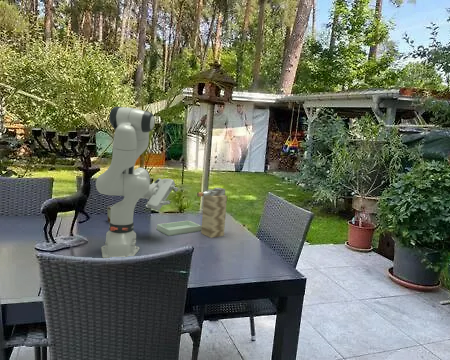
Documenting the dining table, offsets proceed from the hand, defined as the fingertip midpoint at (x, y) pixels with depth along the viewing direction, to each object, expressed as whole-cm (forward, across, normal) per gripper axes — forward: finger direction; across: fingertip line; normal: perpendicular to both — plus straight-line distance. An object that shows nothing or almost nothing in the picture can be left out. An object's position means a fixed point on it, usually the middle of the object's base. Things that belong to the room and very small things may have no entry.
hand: (173, 195), depth 202 cm
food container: (-50, -11, +24) cm, 56 cm away
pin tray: (-10, -2, +34) cm, 36 cm away
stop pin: (+9, +18, +18) cm, 27 cm away
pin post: (+10, +3, +39) cm, 40 cm away
